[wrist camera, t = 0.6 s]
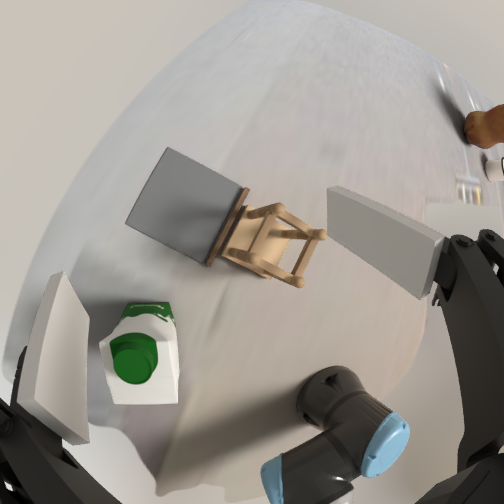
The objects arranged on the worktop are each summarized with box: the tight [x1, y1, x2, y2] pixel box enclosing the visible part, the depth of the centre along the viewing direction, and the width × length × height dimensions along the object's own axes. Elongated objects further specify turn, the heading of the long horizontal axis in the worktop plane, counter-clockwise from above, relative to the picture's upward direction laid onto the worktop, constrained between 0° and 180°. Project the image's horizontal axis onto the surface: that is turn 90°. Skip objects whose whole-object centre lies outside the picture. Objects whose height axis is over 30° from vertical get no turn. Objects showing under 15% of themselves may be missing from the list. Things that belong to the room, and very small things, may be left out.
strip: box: [205, 187, 250, 267], centre depth 44 cm, size 1×14×1 cm, turn 152°
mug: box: [485, 157, 504, 182], centre depth 65 cm, size 12×10×9 cm
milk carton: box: [99, 302, 179, 404], centre depth 32 cm, size 9×9×20 cm
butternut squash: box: [464, 104, 504, 149], centre depth 52 cm, size 14×13×25 cm
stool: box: [221, 203, 327, 288], centre depth 39 cm, size 9×9×14 cm
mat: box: [126, 147, 242, 263], centre depth 42 cm, size 14×14×1 cm
